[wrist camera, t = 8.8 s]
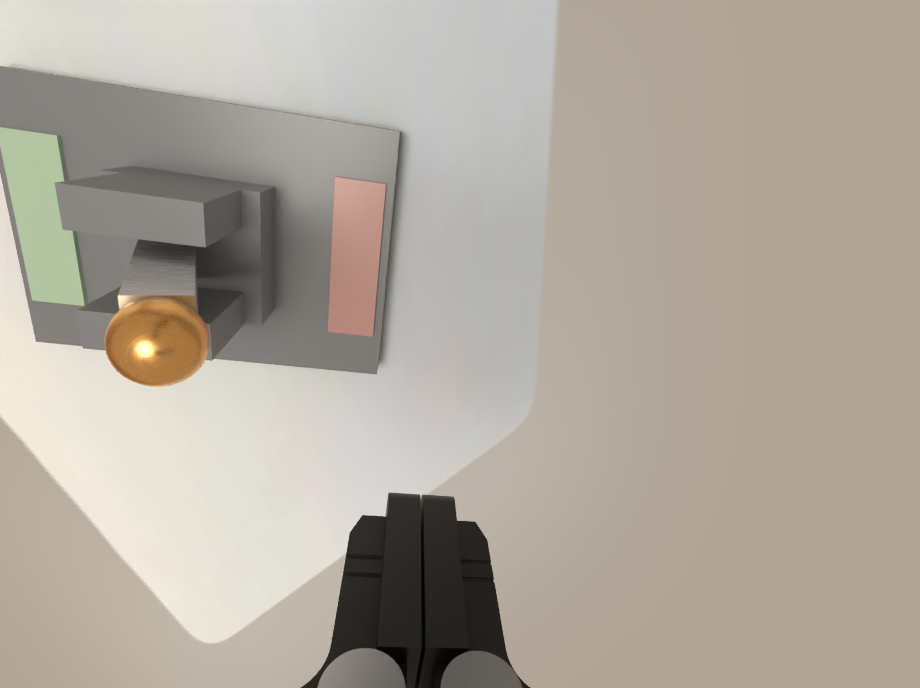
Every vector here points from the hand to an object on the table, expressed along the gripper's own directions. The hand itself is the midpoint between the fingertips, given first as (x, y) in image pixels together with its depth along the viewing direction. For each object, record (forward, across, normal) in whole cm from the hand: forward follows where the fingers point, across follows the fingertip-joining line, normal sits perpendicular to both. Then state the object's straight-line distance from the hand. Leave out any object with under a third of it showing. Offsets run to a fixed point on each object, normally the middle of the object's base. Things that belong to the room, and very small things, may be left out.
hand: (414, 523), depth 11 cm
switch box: (+24, +13, 0) cm, 28 cm away
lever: (+19, +13, 0) cm, 23 cm away
